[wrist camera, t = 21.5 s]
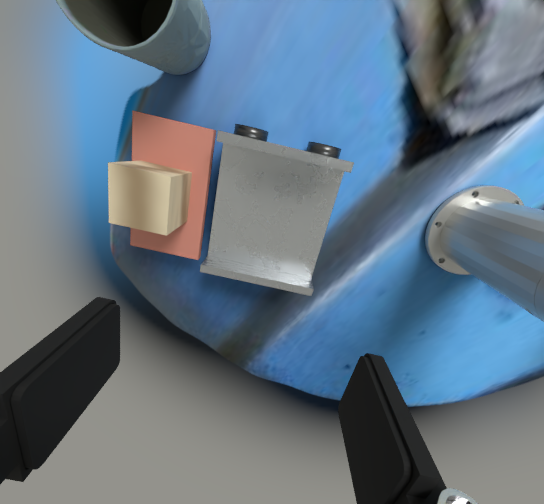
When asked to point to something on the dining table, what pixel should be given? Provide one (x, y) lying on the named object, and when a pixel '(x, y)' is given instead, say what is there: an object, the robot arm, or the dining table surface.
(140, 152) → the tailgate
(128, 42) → the grey round bin
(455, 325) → the dining table surface
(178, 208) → the box
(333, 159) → the cart
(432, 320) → the dining table surface
